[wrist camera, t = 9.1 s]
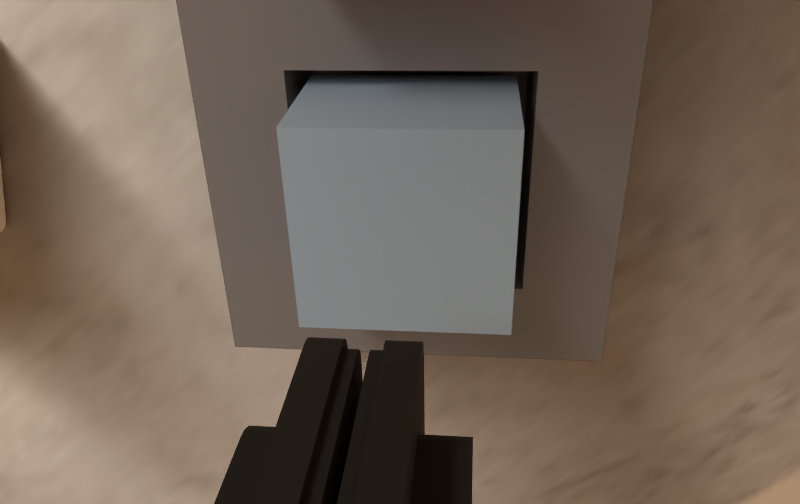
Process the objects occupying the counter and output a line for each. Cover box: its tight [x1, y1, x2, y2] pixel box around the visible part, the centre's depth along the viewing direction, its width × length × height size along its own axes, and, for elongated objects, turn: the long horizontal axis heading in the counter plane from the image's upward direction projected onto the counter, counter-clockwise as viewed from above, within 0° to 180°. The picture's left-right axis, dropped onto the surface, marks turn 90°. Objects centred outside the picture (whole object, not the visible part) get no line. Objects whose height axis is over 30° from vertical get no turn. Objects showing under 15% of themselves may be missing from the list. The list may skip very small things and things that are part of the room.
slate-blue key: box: [276, 75, 525, 335], centre depth 17 cm, size 5×5×4 cm
